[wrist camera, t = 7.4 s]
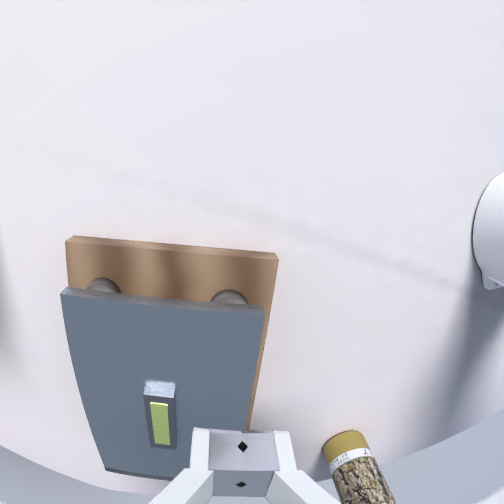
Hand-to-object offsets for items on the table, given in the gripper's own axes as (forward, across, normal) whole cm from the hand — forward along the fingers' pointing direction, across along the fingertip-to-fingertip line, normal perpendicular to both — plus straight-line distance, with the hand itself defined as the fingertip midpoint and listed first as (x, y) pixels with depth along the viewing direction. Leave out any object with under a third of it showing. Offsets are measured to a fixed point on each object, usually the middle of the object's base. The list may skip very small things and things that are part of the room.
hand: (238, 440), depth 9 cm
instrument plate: (+16, +6, +17) cm, 24 cm away
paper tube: (+22, -20, +31) cm, 43 cm away
